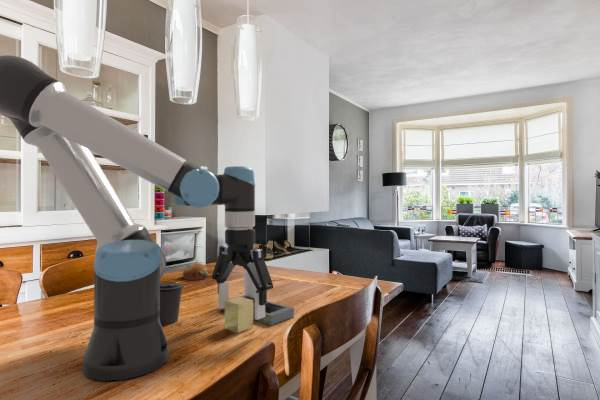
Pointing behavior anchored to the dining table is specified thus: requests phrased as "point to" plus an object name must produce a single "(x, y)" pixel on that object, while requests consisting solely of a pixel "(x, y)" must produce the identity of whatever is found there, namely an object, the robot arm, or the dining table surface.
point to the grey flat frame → (277, 310)
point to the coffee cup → (169, 302)
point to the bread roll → (195, 272)
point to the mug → (249, 285)
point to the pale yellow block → (238, 314)
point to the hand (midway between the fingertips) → (241, 312)
